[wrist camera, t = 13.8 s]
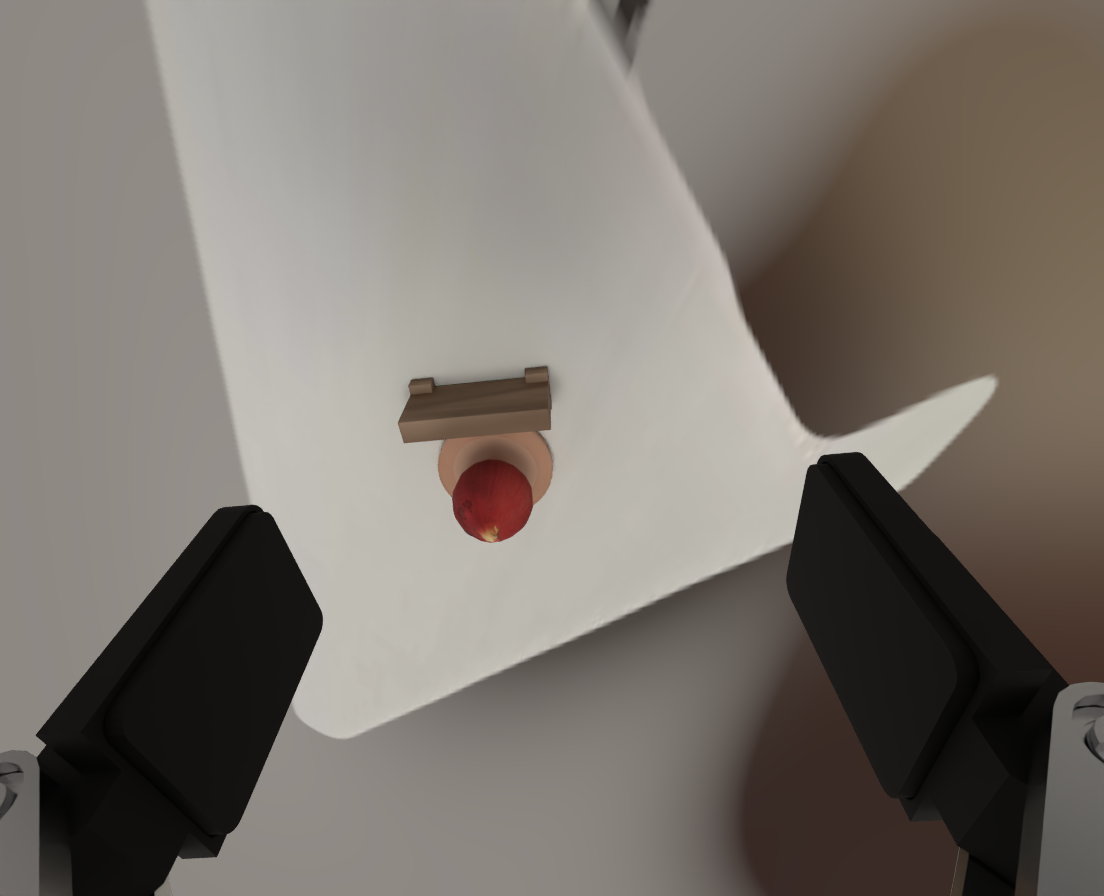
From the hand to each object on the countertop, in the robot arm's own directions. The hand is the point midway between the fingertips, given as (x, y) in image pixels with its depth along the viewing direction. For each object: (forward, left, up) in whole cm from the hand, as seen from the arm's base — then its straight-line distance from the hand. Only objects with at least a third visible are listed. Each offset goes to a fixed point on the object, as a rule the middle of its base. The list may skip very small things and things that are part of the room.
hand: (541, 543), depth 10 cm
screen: (+11, -6, -28) cm, 31 cm away
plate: (+18, -6, -28) cm, 34 cm away
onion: (+17, -6, -27) cm, 33 cm away
